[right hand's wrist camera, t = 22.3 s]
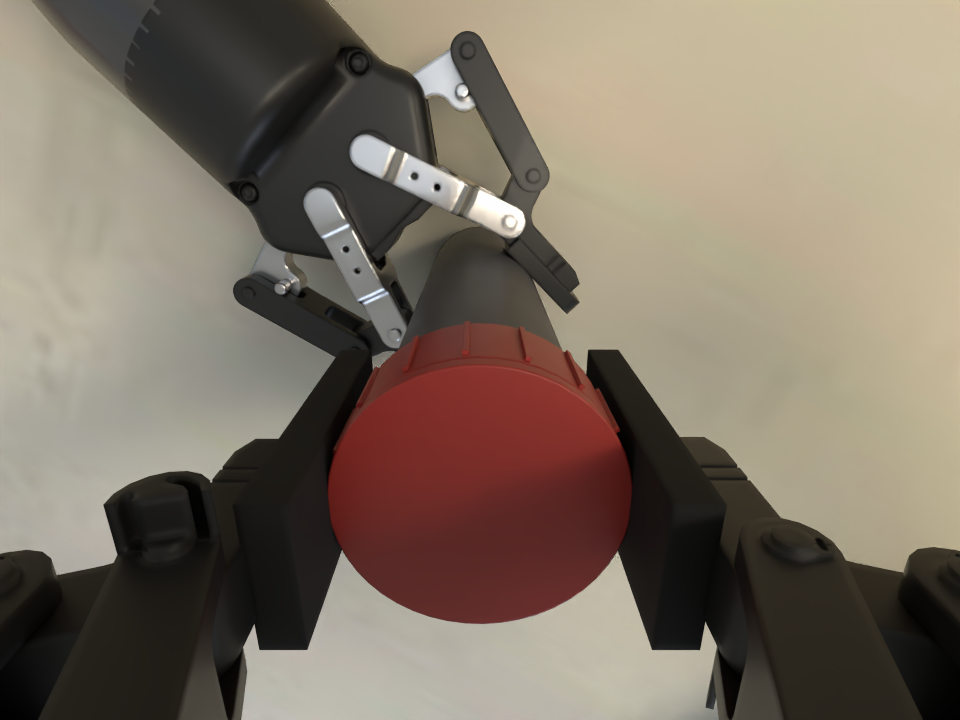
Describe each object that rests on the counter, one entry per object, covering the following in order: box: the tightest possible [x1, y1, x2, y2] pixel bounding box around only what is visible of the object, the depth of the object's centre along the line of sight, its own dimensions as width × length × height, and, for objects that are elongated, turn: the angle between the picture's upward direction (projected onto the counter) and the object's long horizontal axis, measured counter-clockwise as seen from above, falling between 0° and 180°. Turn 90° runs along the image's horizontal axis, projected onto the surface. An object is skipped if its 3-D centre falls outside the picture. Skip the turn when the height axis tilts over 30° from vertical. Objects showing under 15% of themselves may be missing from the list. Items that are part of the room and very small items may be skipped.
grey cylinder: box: [398, 227, 562, 350], centre depth 20 cm, size 5×5×20 cm
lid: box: [327, 321, 632, 624], centre depth 11 cm, size 6×6×2 cm
